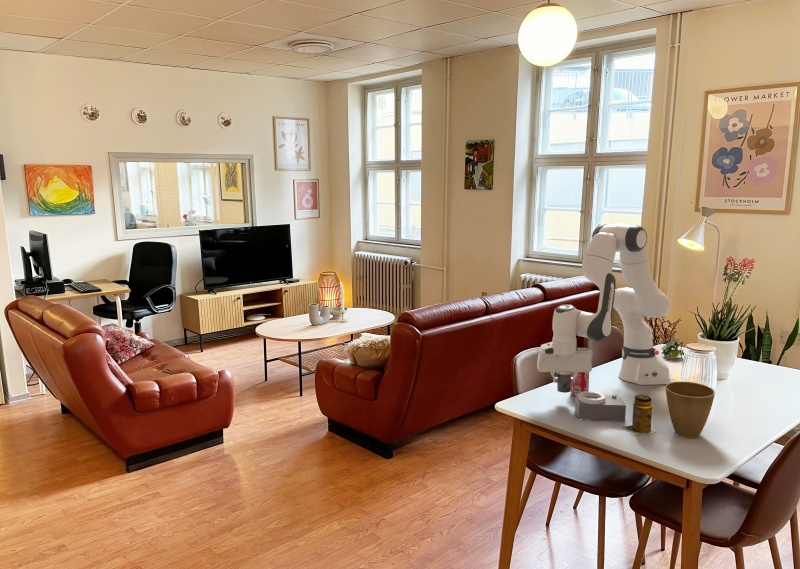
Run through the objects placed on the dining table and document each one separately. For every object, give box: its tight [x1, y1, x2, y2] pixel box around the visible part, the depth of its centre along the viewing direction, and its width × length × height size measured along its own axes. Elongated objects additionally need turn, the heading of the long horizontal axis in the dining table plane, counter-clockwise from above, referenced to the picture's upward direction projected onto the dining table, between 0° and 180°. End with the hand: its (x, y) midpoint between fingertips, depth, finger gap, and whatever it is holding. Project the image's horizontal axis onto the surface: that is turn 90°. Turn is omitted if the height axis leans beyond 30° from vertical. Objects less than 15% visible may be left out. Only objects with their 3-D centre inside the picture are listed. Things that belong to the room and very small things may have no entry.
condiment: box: [621, 394, 657, 436], centre depth 206 cm, size 7×8×12 cm
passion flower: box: [660, 337, 685, 361], centre depth 289 cm, size 11×11×12 cm
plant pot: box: [665, 381, 716, 439], centre depth 201 cm, size 15×15×16 cm
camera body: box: [574, 390, 627, 423], centre depth 219 cm, size 16×10×8 cm, turn 82°
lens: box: [556, 372, 571, 393], centre depth 231 cm, size 5×5×8 cm
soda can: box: [570, 372, 590, 396], centre depth 241 cm, size 7×7×12 cm
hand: (563, 382), depth 231 cm, fingers closed on lens, 5 cm apart
